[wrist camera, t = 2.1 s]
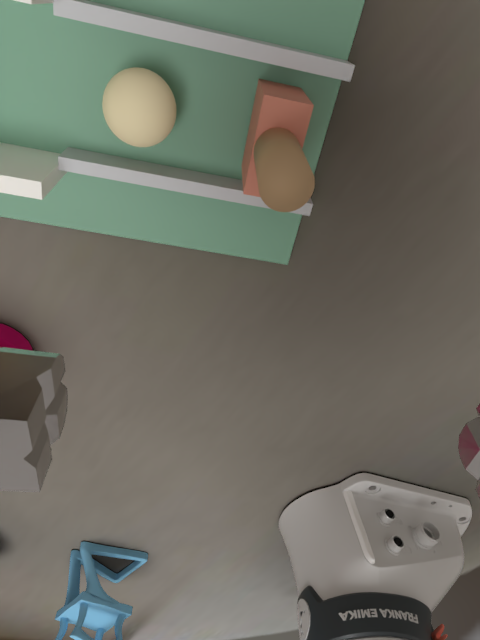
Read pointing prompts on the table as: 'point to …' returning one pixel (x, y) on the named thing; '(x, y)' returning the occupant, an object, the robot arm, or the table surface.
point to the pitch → (191, 116)
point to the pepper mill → (13, 338)
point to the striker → (278, 147)
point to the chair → (95, 592)
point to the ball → (139, 107)
